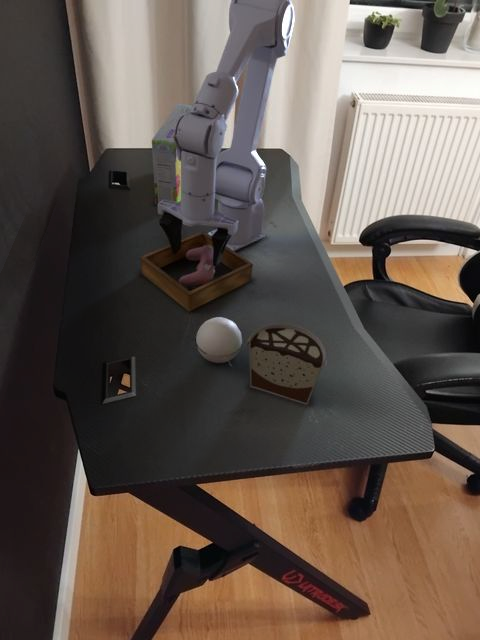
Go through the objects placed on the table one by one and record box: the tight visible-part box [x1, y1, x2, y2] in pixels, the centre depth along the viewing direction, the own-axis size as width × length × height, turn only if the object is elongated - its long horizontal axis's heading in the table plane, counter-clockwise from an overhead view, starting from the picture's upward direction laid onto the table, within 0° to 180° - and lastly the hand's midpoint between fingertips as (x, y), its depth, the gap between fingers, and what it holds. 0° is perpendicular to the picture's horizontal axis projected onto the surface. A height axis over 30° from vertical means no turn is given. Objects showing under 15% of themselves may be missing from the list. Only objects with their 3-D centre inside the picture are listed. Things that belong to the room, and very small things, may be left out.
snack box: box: [151, 103, 193, 206], centre depth 128 cm, size 21×6×15 cm, turn 172°
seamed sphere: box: [194, 316, 243, 366], centre depth 89 cm, size 10×7×7 cm
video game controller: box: [178, 245, 216, 288], centre depth 106 cm, size 10×5×7 cm
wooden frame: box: [139, 230, 254, 312], centre depth 107 cm, size 15×14×4 cm
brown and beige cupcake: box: [244, 323, 327, 406], centre depth 86 cm, size 12×6×10 cm, turn 71°
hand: (196, 257), depth 104 cm, fingers open, 7 cm apart
